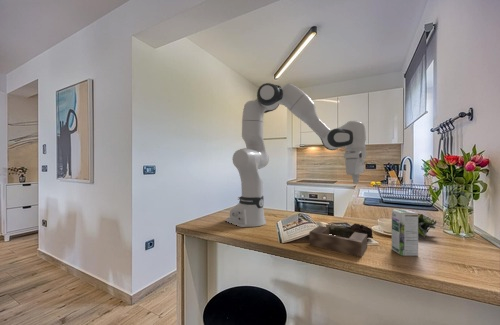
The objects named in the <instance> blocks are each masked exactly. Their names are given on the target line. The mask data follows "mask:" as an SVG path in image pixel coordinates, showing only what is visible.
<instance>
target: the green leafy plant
mask: <svg viewBox="0 0 500 325" xmlns="http://www.w3.org/2000/svg"><path fill="white" fill-rule="evenodd" d="M417 213H418V234H419V235H422V237H423V238H422V239H424V240H425V237H426V235H427V233H429V231H430V229H434V230H435V229H436V226H435V225H437V220H435V219H433V218H432V219H431V217H430V216H426V215H425V214H423V213H419V212H417Z"/></svg>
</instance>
